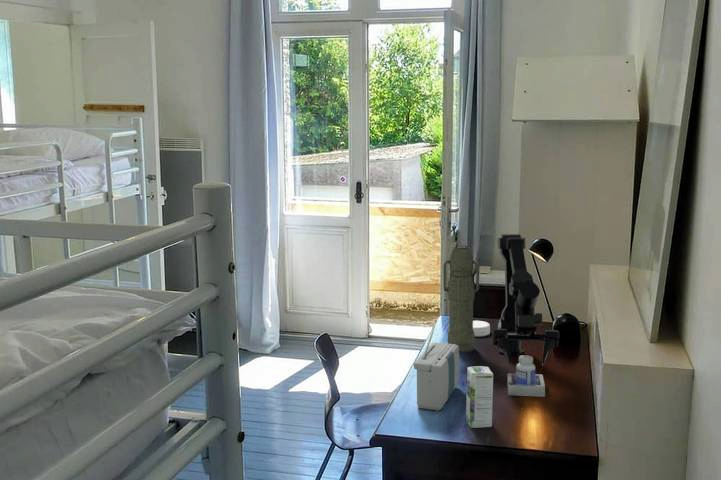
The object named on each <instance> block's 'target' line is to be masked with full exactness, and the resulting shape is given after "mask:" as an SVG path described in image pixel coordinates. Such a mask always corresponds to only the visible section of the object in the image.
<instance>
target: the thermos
mask: <svg viewBox="0 0 721 480" xmlns="http://www.w3.org/2000/svg"><path fill="white" fill-rule="evenodd" d="M448 264H449V271H450V273H449V278H448V282H447V265H448ZM474 265H475V267H476V269H475V270H476V271H475V272H476V275H475V280H474V274H473V271H474ZM480 266H481V265H480V264H479V262H478V261H477V260H474V256H473V252H472V248H471V247H469V246H468V245H455V246H453V247H452V248H451V251H450V254H449V259H447V260H445V261H444V263H443V267H442V268H443V271H442V272H443V276H442V277H443V291H444V292H446V293H447V298H448V303H449V304H448V305H449V306H448V307H449V308H448V309H449V318H448V319H449V320H448V321H449V323H448V325H449V327H448V329H447V344H456V345H458V347H459V354H464V353H465V354H466V353H471V352H472V351H474V350H475V347H474V346H475V345H474V344H475V336H474V331H473V321H474V320H473V319H474V300H475V294H476V293H477V292H478V291H479V290H480ZM475 285H476V286H475Z"/></svg>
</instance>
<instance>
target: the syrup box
mask: <svg viewBox="0 0 721 480" xmlns="http://www.w3.org/2000/svg"><path fill="white" fill-rule="evenodd" d="M466 369H467V371H466V374H467V375H466V377H467V378H466V402H465V403H466V404H465V405H466V407H465V409H466V410H465V415H466V416H465V418H466V422H467V424H468V426H469V427H470V429H476V428H477V429H478V428H491V427H493V402H494V401H493V399H494V398H493V392H494V373H493V371H492V370H491V369H490V367H489V366H484V365H483V366H482V365H478V366H476V365H475V366H467V368H466Z"/></svg>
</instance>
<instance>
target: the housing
mask: <svg viewBox="0 0 721 480" xmlns="http://www.w3.org/2000/svg"><path fill="white" fill-rule="evenodd" d="M545 385H546V384H545V379H544V375H543V374H540V373H539V374H537V373H535V385H524V384H516V373H510V372H507V391H508V392H507V394H508V396H517V397H519V396H520V397H540V398H541V397H546V386H545Z"/></svg>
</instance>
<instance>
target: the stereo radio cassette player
mask: <svg viewBox="0 0 721 480" xmlns="http://www.w3.org/2000/svg"><path fill="white" fill-rule="evenodd" d="M437 323H438V321H437V320H435V323H434V326H433V328H432V331H431V332H430V333H431V334H430V336H429V339H428V342H427V345H426V348H425V351H423V352H422V354H420V356H419V357H418V358H417V359H416V360H415V362H414V363H413V369H415V371H416V405H417V408H418V409H426V410H431V411H435V412H437V411H440V410H441V409H442V408H443V407H444V406H445V404H446V403H447V401H448V399H449V398H450V397H451V395H452V394H453V393H454V391H455V389H457V387H458V384H459V381H460V368H461V367H460V362H461V361H460V353H459V347H458V345H456V344H448V343H447V342H432V343H431V340H432V338H433V335H434V332H435V331H434V330H435V329H436V325H437Z"/></svg>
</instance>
